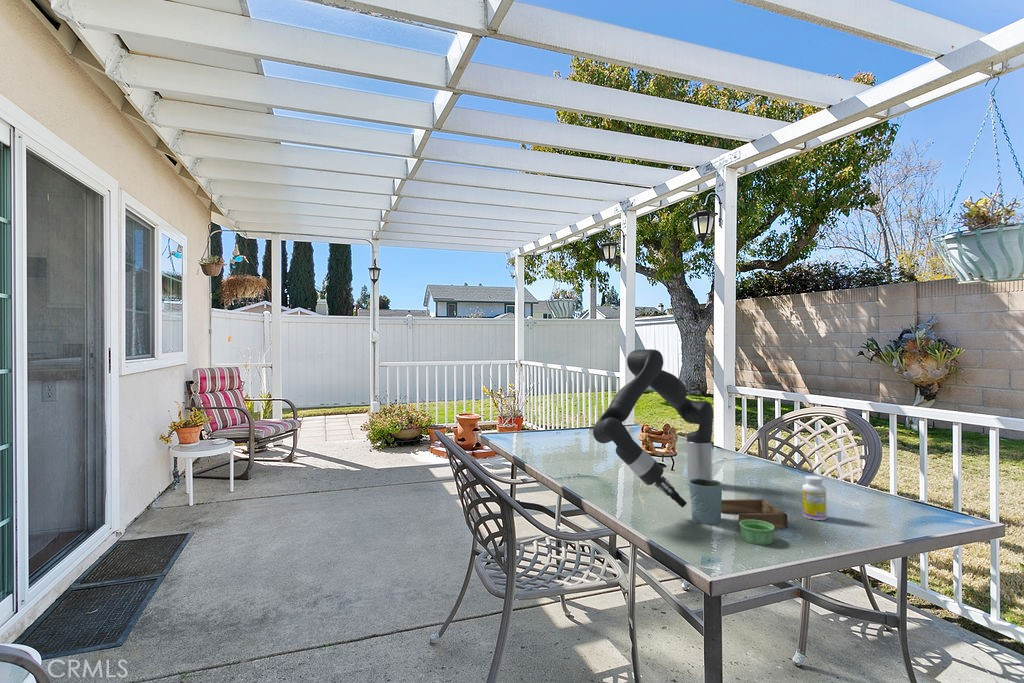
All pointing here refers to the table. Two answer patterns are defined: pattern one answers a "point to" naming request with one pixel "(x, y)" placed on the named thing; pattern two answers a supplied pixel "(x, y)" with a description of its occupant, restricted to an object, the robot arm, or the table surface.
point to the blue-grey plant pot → (706, 500)
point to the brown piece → (755, 511)
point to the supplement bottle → (814, 498)
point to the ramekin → (756, 531)
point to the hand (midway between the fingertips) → (684, 504)
